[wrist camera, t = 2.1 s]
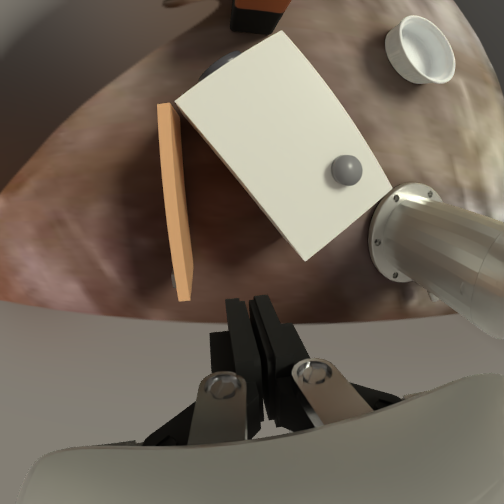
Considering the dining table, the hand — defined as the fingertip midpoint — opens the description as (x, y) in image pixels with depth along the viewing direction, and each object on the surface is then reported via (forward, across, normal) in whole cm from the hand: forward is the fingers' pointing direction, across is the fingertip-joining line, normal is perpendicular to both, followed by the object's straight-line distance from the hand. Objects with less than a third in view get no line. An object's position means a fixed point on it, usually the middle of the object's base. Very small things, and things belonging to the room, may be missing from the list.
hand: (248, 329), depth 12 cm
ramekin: (+19, -24, -20) cm, 37 cm away
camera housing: (+19, -6, -8) cm, 21 cm away
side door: (+19, +4, -4) cm, 19 cm away
